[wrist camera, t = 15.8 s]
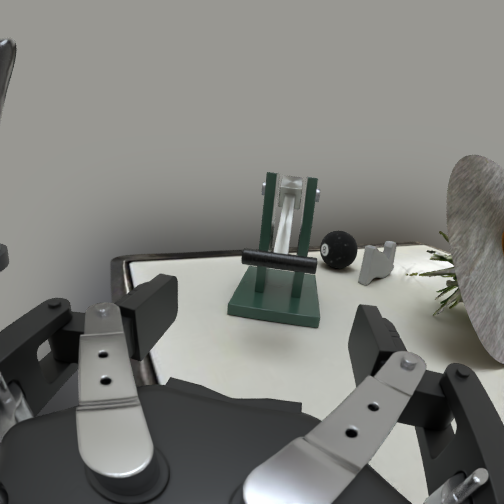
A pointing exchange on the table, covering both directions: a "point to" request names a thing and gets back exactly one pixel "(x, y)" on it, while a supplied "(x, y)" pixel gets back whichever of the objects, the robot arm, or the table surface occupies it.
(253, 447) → the robot arm
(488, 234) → the upside-down potted plant
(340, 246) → the billiard ball
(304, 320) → the switch bracket
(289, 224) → the switch lever
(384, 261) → the grey tape dispenser
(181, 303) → the table surface
